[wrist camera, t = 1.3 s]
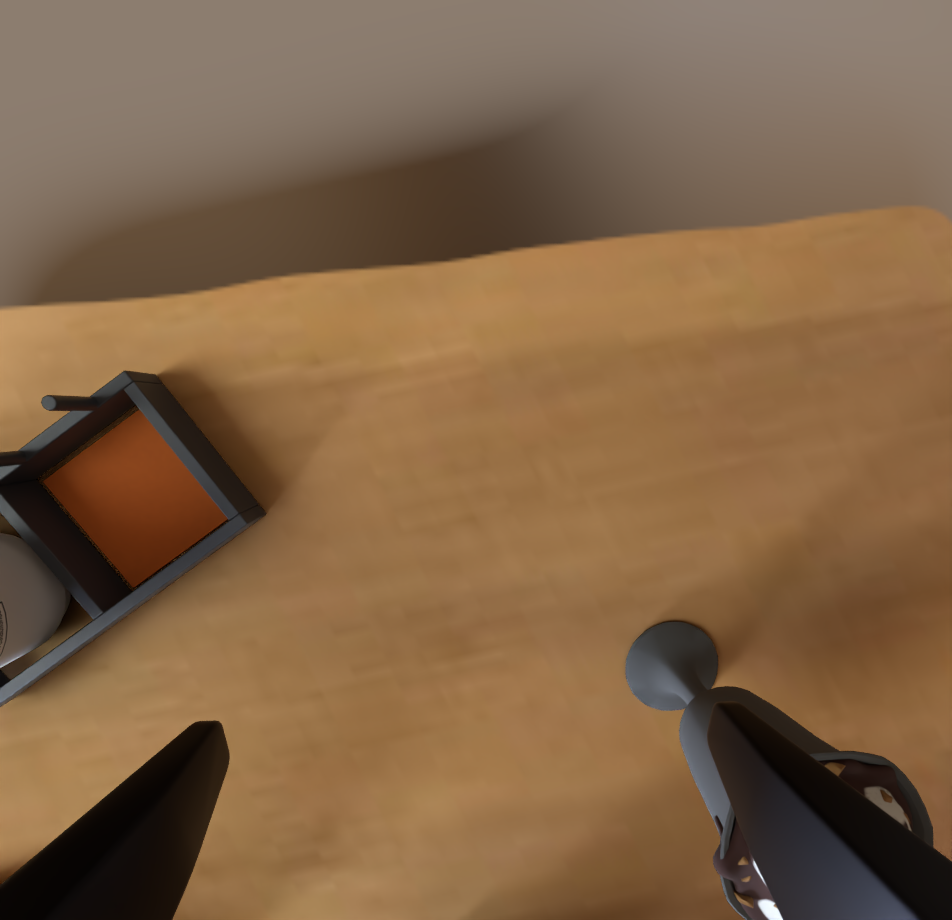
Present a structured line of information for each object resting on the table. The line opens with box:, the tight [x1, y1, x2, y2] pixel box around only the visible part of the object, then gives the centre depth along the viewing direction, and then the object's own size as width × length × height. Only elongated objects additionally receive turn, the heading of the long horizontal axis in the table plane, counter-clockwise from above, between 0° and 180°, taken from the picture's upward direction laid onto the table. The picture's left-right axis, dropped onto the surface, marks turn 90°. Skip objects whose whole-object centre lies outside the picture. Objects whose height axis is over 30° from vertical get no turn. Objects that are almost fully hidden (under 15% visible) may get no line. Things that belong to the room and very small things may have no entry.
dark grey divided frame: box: [0, 371, 266, 707], centre depth 20 cm, size 8×16×4 cm, turn 126°
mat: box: [43, 409, 228, 588], centre depth 22 cm, size 7×7×1 cm
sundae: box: [626, 622, 933, 920], centre depth 16 cm, size 7×7×15 cm
